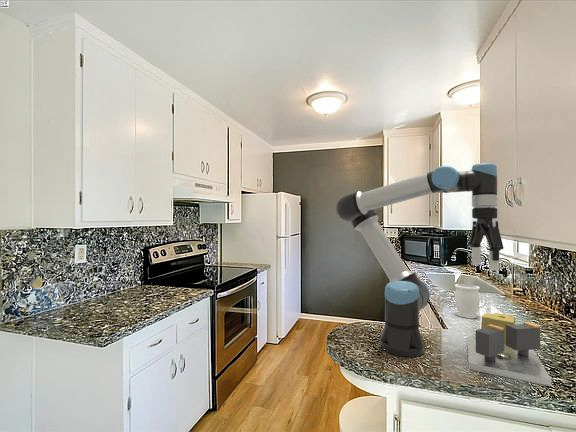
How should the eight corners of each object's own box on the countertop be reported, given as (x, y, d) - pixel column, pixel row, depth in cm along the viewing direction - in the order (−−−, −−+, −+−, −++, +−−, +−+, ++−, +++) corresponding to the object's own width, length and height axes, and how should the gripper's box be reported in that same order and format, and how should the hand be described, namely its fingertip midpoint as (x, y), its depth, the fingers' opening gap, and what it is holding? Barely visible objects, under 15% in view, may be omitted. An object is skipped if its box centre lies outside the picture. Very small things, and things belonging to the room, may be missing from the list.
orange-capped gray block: (516, 358, 99) (516, 327, 99) (506, 353, 103) (505, 323, 103) (540, 356, 100) (540, 325, 100) (528, 351, 104) (528, 322, 104)
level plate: (468, 369, 95) (468, 360, 95) (466, 342, 116) (466, 335, 116) (551, 386, 85) (551, 377, 85) (532, 354, 106) (532, 346, 106)
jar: (473, 313, 154) (472, 283, 154) (484, 320, 144) (484, 288, 144) (451, 312, 155) (451, 283, 155) (460, 319, 145) (460, 287, 145)
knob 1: (489, 365, 93) (488, 332, 94) (475, 360, 97) (475, 328, 97) (504, 359, 98) (503, 327, 98) (490, 354, 101) (490, 324, 102)
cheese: (484, 334, 125) (484, 310, 125) (517, 341, 118) (516, 315, 118) (480, 342, 117) (480, 316, 117) (515, 350, 110) (515, 322, 110)
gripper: (516, 205, 94) (516, 273, 94) (480, 209, 119) (480, 263, 119) (489, 205, 96) (490, 272, 95) (459, 209, 120) (459, 262, 120)
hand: (484, 267), depth 107 cm, fingers open, 13 cm apart
